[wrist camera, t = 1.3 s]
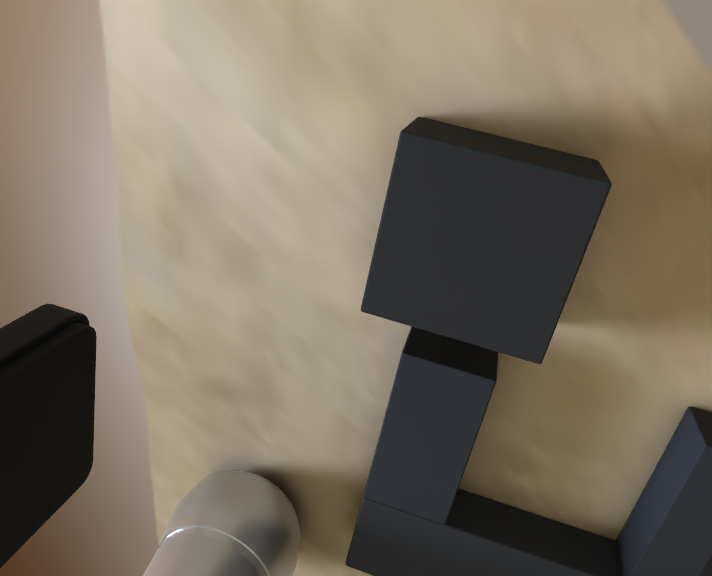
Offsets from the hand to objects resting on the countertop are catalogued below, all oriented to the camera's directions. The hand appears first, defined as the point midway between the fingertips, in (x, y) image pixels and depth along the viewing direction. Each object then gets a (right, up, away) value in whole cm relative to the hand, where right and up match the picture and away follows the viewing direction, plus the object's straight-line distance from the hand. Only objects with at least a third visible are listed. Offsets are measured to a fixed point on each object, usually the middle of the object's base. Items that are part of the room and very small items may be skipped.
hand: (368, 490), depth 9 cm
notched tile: (+8, -6, +18) cm, 21 cm away
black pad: (+5, +5, +14) cm, 16 cm away
